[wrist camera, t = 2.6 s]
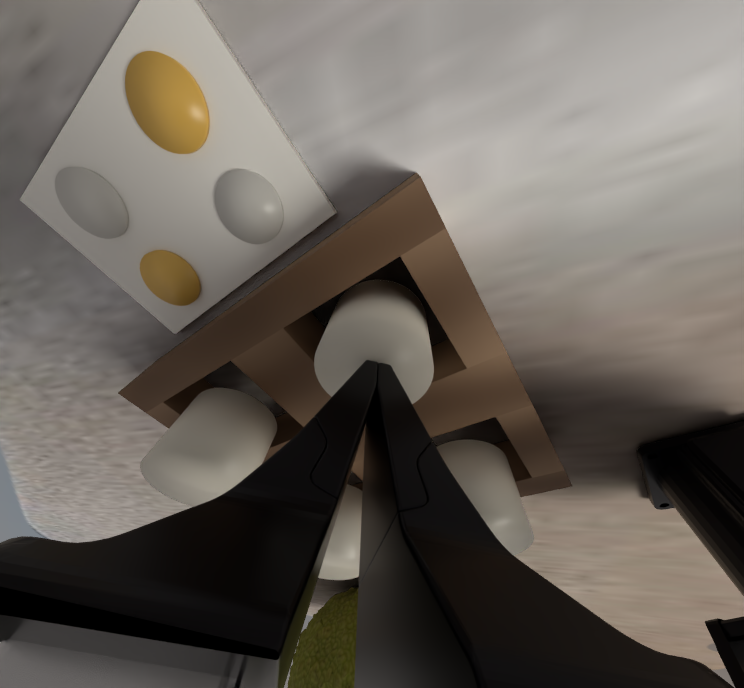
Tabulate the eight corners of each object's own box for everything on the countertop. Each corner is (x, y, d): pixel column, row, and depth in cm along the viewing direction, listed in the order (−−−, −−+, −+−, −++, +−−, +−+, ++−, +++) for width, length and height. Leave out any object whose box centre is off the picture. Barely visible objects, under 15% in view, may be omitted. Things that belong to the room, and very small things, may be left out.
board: (551, 445, 16) (572, 486, 14) (333, 503, 22) (327, 538, 20) (416, 172, 9) (420, 176, 7) (154, 362, 15) (117, 393, 13)
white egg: (443, 338, 12) (454, 389, 10) (367, 373, 14) (358, 425, 11) (395, 260, 10) (393, 295, 8) (314, 309, 12) (289, 353, 9)
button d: (294, 430, 13) (267, 498, 11) (239, 453, 15) (204, 517, 12) (230, 374, 12) (181, 438, 9) (176, 406, 13) (120, 469, 11)
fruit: (401, 620, 38) (325, 796, 27) (336, 537, 37) (234, 683, 27) (513, 672, 26) (457, 1014, 16) (421, 552, 26) (300, 820, 15)
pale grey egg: (519, 477, 14) (546, 552, 11) (444, 494, 15) (453, 565, 13) (489, 429, 12) (513, 504, 10) (408, 454, 14) (410, 525, 11)
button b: (383, 509, 17) (379, 575, 14) (331, 521, 18) (319, 583, 16) (343, 474, 15) (331, 542, 13) (290, 491, 17) (269, 554, 14)
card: (336, 212, 10) (334, 214, 10) (178, 331, 14) (172, 336, 14) (174, -37, 7) (160, -48, 7) (28, 198, 11) (13, 200, 11)
